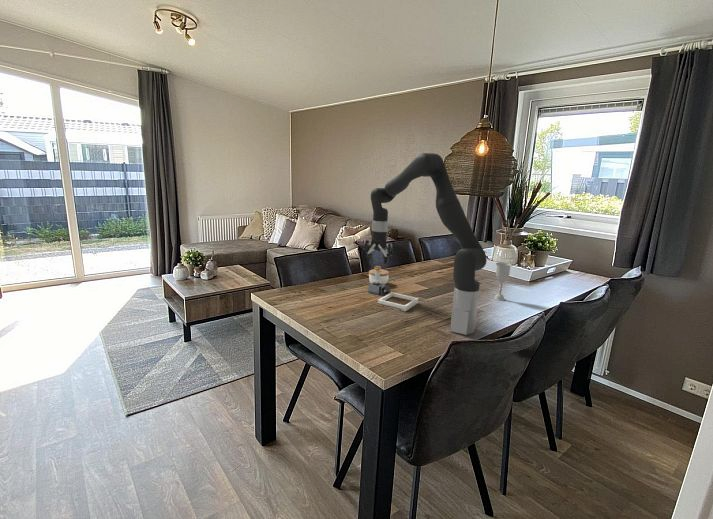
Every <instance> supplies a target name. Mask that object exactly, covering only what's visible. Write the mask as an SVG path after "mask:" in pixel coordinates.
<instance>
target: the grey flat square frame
mask: <svg viewBox="0 0 713 519" xmlns="http://www.w3.org/2000/svg"><path fill="white" fill-rule="evenodd" d="M393 292H394V291H391V293H390V294H388V295H386V296H384V297H382V296H381V297H380V298H379V299H377V304H380V305H384V306H388V307H393V308H396V309H398V311H400V312H408V311H409V310H411V309H412V308H413V307H415V306H416V305H418V303H419V297H415V296H411V295H405V294H400V293H397V292H394V293H393ZM392 297H395V298H399V299H403V300H408V301H409V302H408V303H406V304H400V303H396V302H392V301H388V299H390V298H392Z"/></svg>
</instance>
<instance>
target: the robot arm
mask: <svg viewBox="0 0 713 519" xmlns="http://www.w3.org/2000/svg"><path fill="white" fill-rule="evenodd" d="M446 167H447V166H446V164H445V162H444V160H443V158H442V156H441V155H439V154H438V153H435V152H434V153H431V152H424V153H420V154H419V155H417V156H416V157H415V158H414V159H413V160H412V161H411V162H410V163H409V164H408V165H407V166H406V167H405V168H404V169H403V170H402V171H401V172H400V173H398V174H397V175H396V176H395V177H393V178H392V179H391V180H388V182H386V183H385V186H384V187H375V188H373V189H372V191H371V192H370V202H371V207H372V208H371V209H372V212H373V213H372V214H373V215H372V224H371V240H370V239H367V240H365V244H364V252H365V253H367V260H368V262H372V261H373V253H374V251H377V252H381V253H382V254H383V255H384V258H383V264H384V265H387V264H388V263H389V257H392V256H393V252H394V251H393V248H394V247H393V246H394V245H393V243H392V242H391V243H388V242H387V241H388V230H389V226H388V224H389V222H388V218H389V215H388V214H389V210H388V209H387V208H385V207H383V205H382V204H387V203H389V202H392V201H394V199H395V198H396V196H398V195H399V194H401V192H404V191H405V190H406V189H407V188H408V186H409V185H410V183H411V182H412V181H414V180H416V179H418V178H421V177H423V178H424V177H425V178H428V177H430V178H431V180H432V182H433V185H434V186H435V191H436V196H435V208H436V212H437V214H438V217H439V219H440V220H441V223H442V224H443V225H444V226H445V228H446V229H447V230H448V231H449V232H450V233H451V234H452V236H454V237H455V238H456V239H457V242H458V243H459V245H460V247H461V249H458V251H457V252H456V253H455V256H454V259H453V260H454V261H453V274H452V276H453V277H452V278H453V283H454V290H453V295H452V296H453V298H452V305H451V306H452V309H451V318H450V332H453V333H457V334H460V335H464V336H467V335H471V334H473V333H474V332H475V328H476V319H477V311H478V303H479V293H480V281H478V280H476V271H480V270H482V269H484V268H485V267H486V264H487V261H488V260H487V255H486V252H485V250H484V249H483V247H482V245H481V243H480V242H479V240H478V238H477V237H476V234H475V233H474V231H473V229H472V227H471V225H470V222H469V220H468V218H467V216H466V214H465V211H464V209H463V207H462V205H461V202H460V200H459V198H458V196H457V193H456V191H455V189H454V187H453V183H452V182H451V180H450V176H449V174H448V170H447V168H446ZM370 246H371V247H370Z"/></svg>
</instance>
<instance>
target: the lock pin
mask: <svg viewBox="0 0 713 519" xmlns="http://www.w3.org/2000/svg"><path fill="white" fill-rule="evenodd" d="M373 269H375V282H374V285H379V279H380V269H382V267H381V265H375V266H374V268H373Z"/></svg>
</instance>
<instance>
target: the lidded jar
mask: <svg viewBox="0 0 713 519" xmlns="http://www.w3.org/2000/svg"><path fill="white" fill-rule="evenodd" d="M389 275H390V271H388V270H386V269H382V268H381V269H380V279H379V283H383V284H385V285H387V283H388V281H389ZM368 280H369V282H370V284H371V283H373V282H375V269H374V268H373V269H370V270H368Z"/></svg>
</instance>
